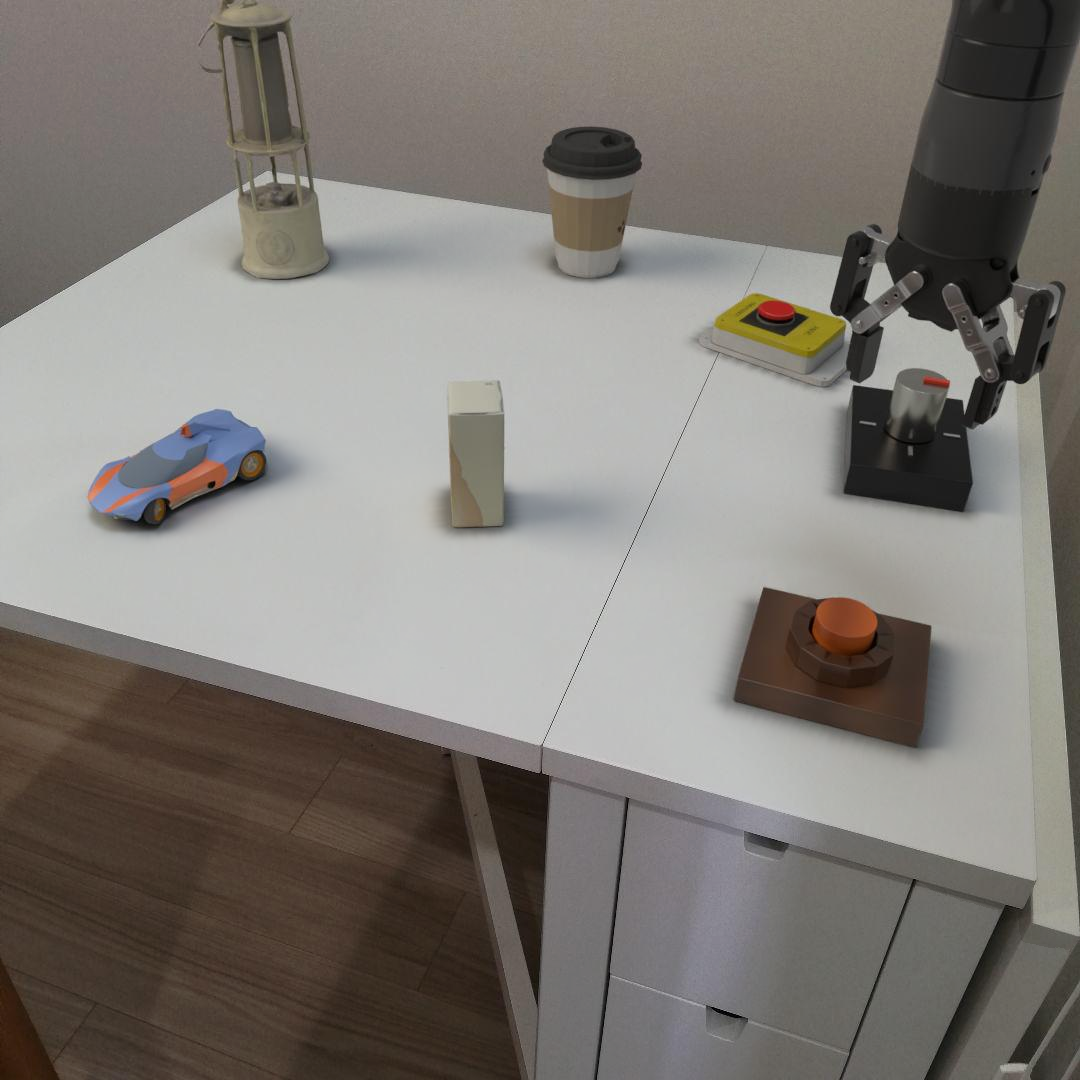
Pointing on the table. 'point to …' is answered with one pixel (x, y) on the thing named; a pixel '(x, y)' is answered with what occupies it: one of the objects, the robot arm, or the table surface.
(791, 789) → the table surface
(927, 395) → the hob knob
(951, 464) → the panel
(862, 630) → the button
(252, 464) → the toy car
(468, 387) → the box
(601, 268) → the coffee cup
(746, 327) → the emergency button
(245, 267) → the lamp
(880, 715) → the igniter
